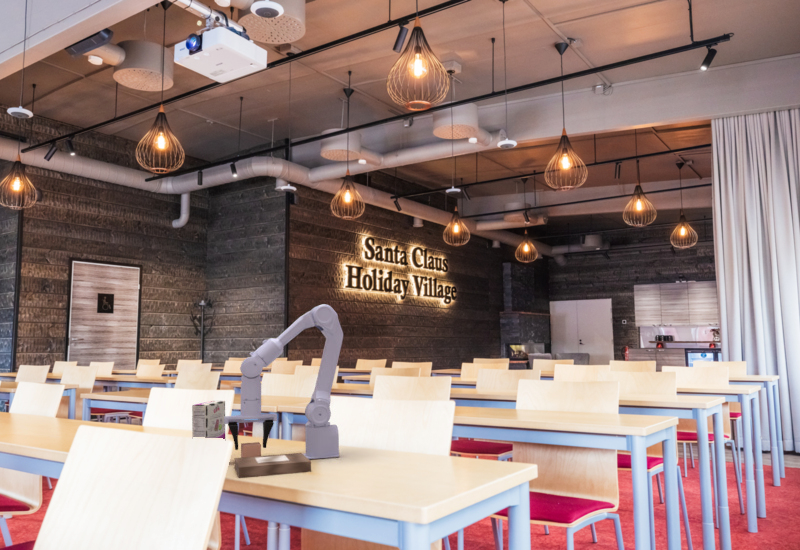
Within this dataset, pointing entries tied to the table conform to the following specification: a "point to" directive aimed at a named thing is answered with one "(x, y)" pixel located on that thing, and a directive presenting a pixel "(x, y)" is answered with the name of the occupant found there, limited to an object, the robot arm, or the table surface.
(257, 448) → the terracotta cube
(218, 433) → the candy bar box
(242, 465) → the walnut plinth
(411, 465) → the table surface
